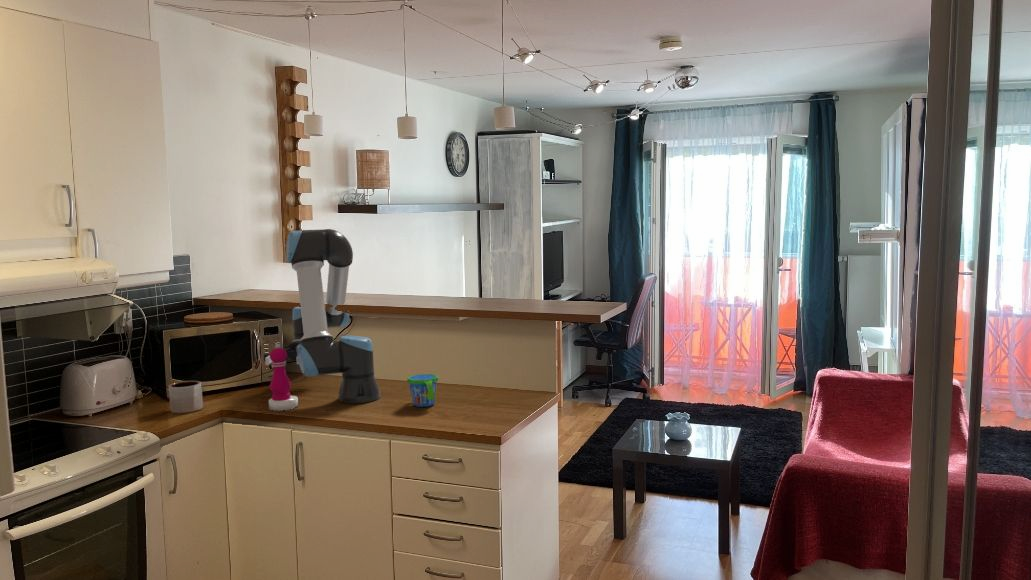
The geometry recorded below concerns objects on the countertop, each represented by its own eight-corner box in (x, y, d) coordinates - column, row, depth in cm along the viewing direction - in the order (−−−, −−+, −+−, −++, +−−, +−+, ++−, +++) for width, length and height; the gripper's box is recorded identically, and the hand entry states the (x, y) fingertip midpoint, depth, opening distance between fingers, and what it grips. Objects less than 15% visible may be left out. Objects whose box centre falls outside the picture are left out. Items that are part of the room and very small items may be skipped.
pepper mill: (287, 401, 274) (284, 345, 272) (267, 401, 275) (263, 345, 272) (294, 395, 281) (291, 341, 279) (275, 396, 282) (271, 342, 280)
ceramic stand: (304, 405, 280) (303, 396, 279) (284, 412, 271) (283, 403, 271) (283, 402, 284) (282, 394, 284) (263, 409, 276) (262, 401, 275)
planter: (163, 412, 276) (161, 386, 275) (187, 405, 286) (184, 379, 285) (187, 415, 272) (184, 388, 271) (210, 407, 282) (207, 381, 281)
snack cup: (404, 401, 280) (403, 374, 279) (433, 398, 283) (431, 370, 282) (414, 412, 265) (412, 382, 264) (444, 408, 269) (442, 379, 268)
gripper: (327, 358, 304) (314, 370, 282) (268, 360, 304) (250, 372, 282) (326, 339, 303) (313, 349, 281) (267, 341, 303) (249, 352, 281)
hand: (281, 361), depth 282 cm, fingers open, 10 cm apart
